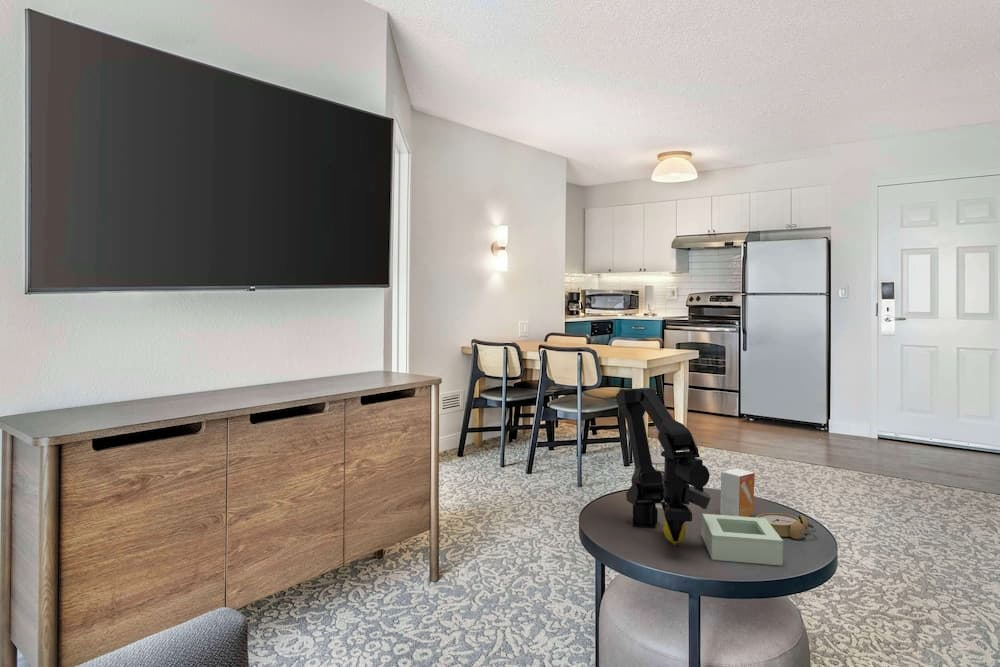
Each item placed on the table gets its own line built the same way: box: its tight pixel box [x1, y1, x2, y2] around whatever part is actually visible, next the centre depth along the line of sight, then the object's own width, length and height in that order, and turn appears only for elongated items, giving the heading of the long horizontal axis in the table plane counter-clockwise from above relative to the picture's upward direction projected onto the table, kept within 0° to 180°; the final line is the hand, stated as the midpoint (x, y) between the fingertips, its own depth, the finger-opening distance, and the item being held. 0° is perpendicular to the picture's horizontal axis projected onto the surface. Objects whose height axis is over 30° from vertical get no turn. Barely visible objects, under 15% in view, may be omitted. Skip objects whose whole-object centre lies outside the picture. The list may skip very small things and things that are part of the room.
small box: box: [719, 467, 755, 517], centre depth 175 cm, size 8×6×13 cm
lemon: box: [663, 519, 687, 546], centre depth 151 cm, size 6×6×8 cm
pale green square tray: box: [701, 513, 784, 567], centre depth 148 cm, size 16×16×6 cm
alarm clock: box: [756, 512, 816, 540], centre depth 161 cm, size 11×5×15 cm
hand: (674, 536), depth 151 cm, fingers closed on lemon, 5 cm apart
